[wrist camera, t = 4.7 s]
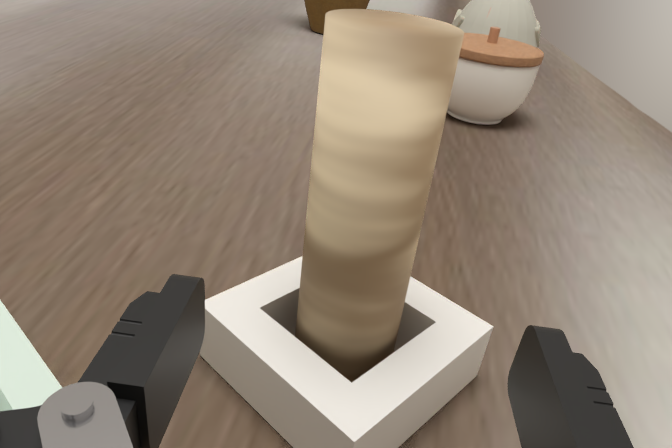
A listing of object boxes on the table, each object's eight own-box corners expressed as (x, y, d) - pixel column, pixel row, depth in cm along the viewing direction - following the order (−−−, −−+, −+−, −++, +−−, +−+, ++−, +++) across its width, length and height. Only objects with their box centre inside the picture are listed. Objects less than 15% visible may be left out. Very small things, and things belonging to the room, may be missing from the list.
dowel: (341, 422, 22) (406, 43, 14) (272, 360, 24) (296, 11, 17) (407, 370, 25) (490, 33, 17) (339, 320, 27) (385, 7, 20)
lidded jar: (410, 113, 58) (427, 21, 53) (446, 93, 66) (464, 13, 61) (506, 141, 53) (534, 44, 49) (533, 117, 62) (559, 32, 57)
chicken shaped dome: (526, 61, 89) (554, -39, 81) (539, 82, 77) (574, -33, 69) (442, 48, 90) (462, -51, 82) (442, 67, 78) (466, -47, 71)
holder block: (343, 497, 19) (354, 442, 17) (200, 355, 24) (198, 303, 23) (476, 375, 25) (493, 326, 23) (338, 282, 30) (345, 236, 28)
